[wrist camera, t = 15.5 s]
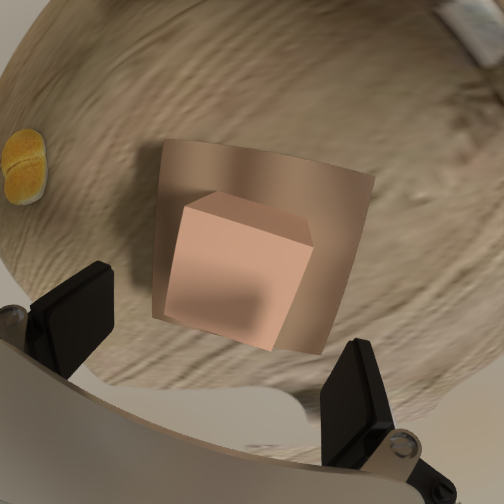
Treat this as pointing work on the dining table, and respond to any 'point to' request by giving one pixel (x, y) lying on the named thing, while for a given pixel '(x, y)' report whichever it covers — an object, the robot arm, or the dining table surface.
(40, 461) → the robot arm
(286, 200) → the walnut block
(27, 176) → the bread roll
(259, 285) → the terracotta cube
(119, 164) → the dining table surface
